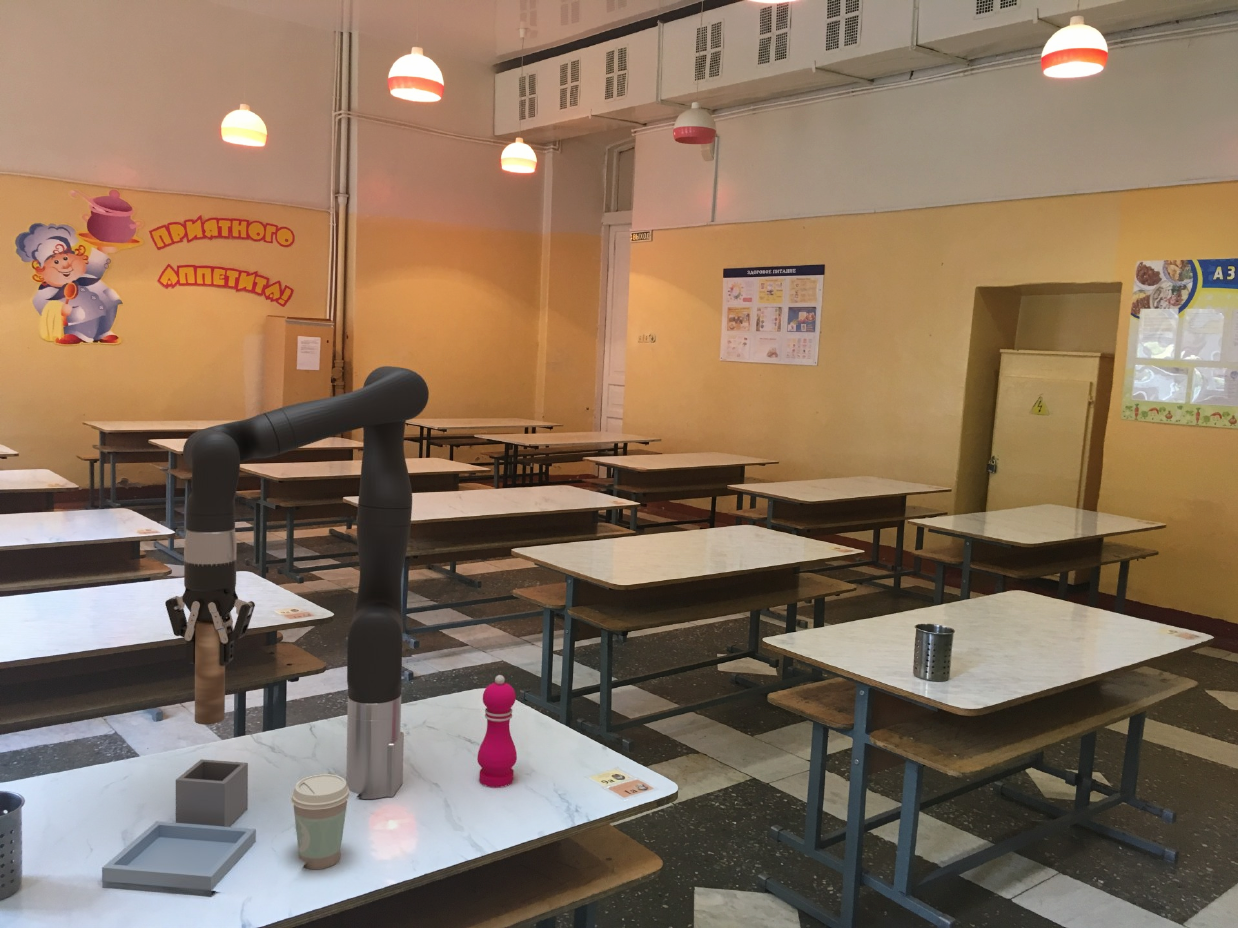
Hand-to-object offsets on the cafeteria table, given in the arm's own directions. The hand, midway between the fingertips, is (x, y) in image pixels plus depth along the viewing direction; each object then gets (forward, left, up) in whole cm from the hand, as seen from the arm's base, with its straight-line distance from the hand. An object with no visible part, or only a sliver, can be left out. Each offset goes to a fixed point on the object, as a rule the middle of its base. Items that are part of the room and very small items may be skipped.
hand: (209, 662), depth 151 cm
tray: (-2, +12, -27) cm, 30 cm away
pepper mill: (-42, -25, -28) cm, 56 cm away
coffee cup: (-21, +7, -28) cm, 35 cm away
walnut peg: (0, 0, -9) cm, 9 cm away
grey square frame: (0, -1, -27) cm, 27 cm away
